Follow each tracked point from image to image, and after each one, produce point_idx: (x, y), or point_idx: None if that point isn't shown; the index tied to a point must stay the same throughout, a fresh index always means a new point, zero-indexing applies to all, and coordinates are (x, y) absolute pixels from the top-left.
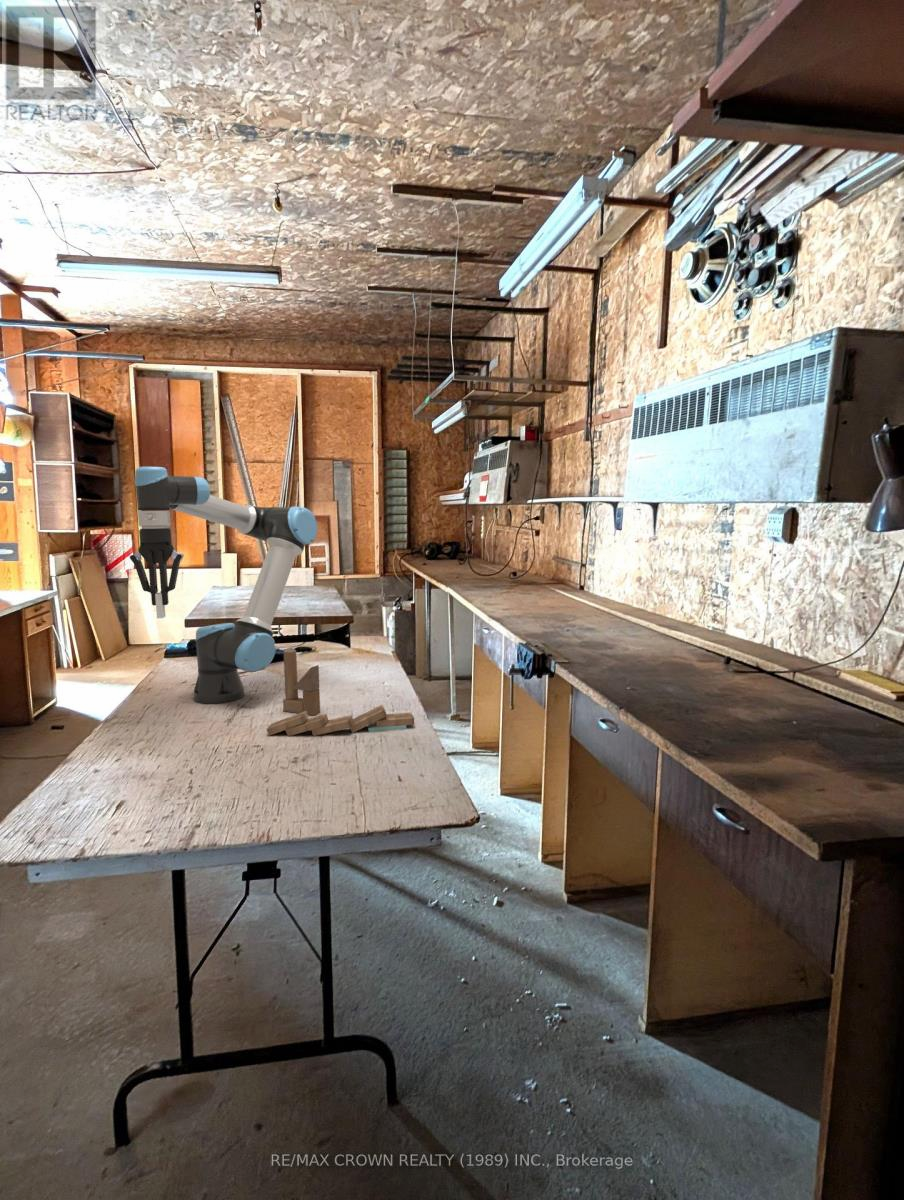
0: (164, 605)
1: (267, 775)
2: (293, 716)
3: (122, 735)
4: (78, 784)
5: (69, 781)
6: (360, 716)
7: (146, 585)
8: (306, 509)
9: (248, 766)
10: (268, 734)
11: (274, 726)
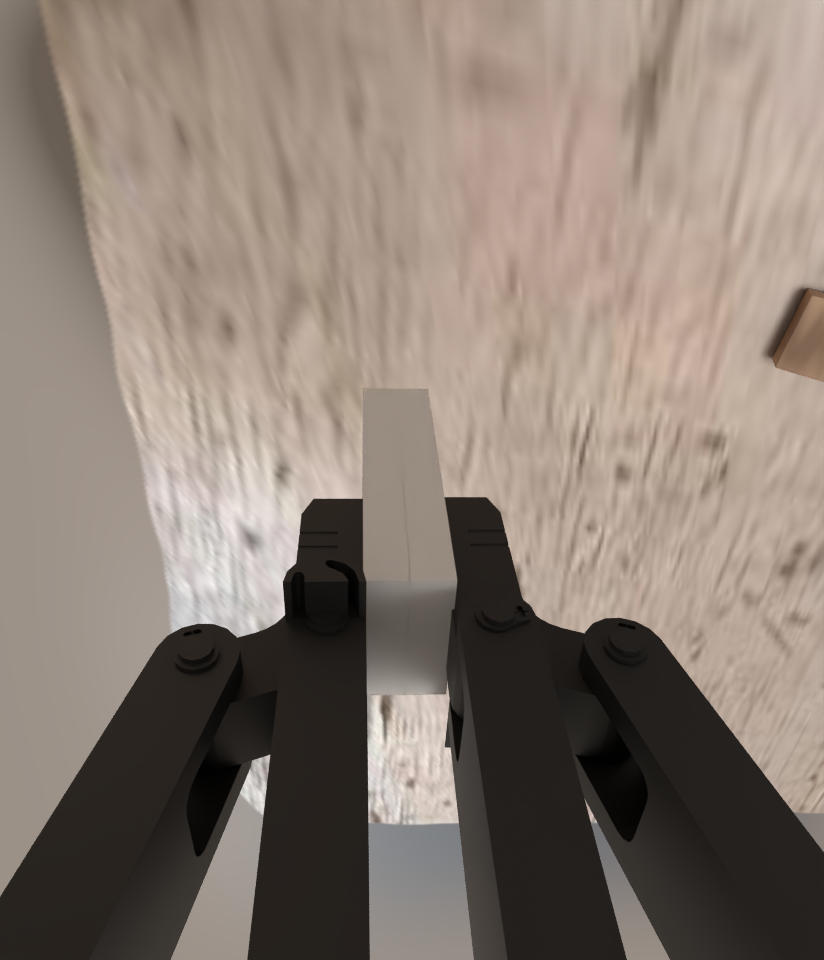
0: (437, 469)
1: (702, 630)
2: None
3: (189, 215)
4: (241, 608)
5: (207, 589)
6: None
7: (228, 811)
8: None
9: (665, 578)
10: (773, 359)
11: (810, 376)
